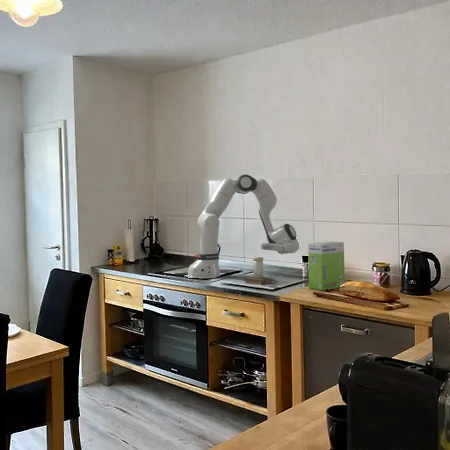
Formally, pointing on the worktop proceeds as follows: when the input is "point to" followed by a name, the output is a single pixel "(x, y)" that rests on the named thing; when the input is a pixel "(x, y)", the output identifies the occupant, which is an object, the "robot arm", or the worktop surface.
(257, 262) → the spice jar
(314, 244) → the toothbrush box
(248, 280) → the walnut base
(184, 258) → the worktop surface
